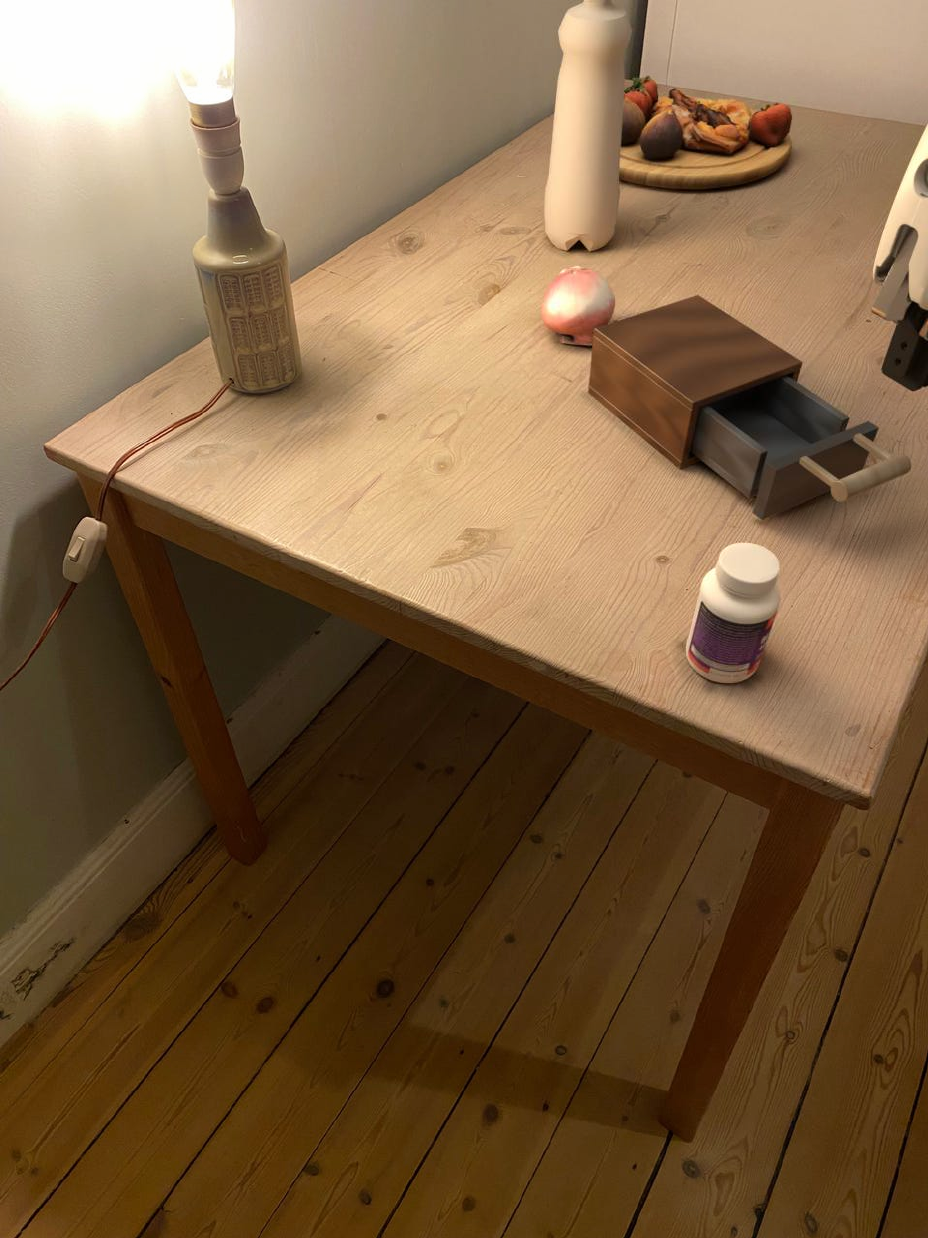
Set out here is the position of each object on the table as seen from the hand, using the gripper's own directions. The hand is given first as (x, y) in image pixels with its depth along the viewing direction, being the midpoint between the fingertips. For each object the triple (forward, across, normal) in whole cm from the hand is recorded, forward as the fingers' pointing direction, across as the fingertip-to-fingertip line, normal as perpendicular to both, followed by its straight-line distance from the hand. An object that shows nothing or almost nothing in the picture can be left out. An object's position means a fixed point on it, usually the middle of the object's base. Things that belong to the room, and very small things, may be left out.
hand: (905, 378), depth 64 cm
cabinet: (+16, +2, +23) cm, 28 cm away
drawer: (+15, +2, +10) cm, 18 cm away
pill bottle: (+16, -16, -4) cm, 23 cm away
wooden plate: (+15, +43, +76) cm, 89 cm away
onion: (+16, 0, +40) cm, 43 cm away
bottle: (+16, +14, +59) cm, 63 cm away
